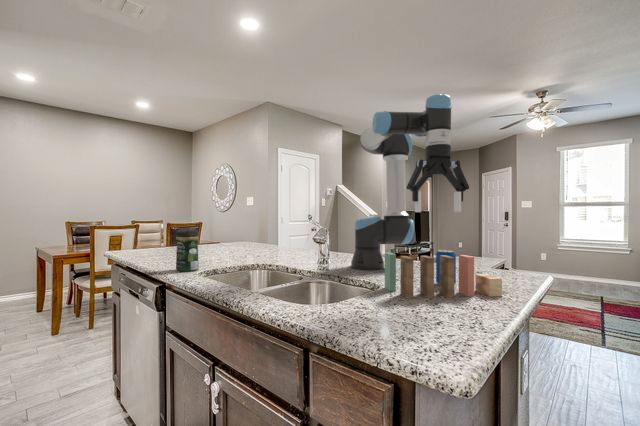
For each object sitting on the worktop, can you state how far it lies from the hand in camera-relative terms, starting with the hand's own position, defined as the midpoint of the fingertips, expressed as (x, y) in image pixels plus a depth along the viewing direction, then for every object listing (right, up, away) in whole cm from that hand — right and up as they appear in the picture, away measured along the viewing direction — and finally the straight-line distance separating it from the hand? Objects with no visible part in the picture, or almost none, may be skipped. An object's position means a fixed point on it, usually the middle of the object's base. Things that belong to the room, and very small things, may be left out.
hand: (437, 212), depth 99 cm
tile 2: (-11, -26, -4) cm, 28 cm away
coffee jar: (-96, -26, +38) cm, 107 cm away
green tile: (-14, -26, +5) cm, 30 cm away
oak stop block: (+16, -26, -1) cm, 30 cm away
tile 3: (-5, -26, -3) cm, 26 cm away
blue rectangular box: (+7, -26, +11) cm, 29 cm away
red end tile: (+8, -26, -2) cm, 27 cm away
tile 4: (+2, -26, -2) cm, 26 cm away
